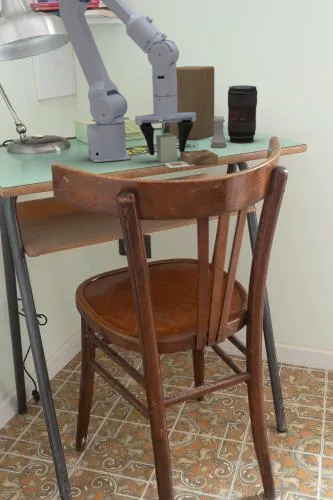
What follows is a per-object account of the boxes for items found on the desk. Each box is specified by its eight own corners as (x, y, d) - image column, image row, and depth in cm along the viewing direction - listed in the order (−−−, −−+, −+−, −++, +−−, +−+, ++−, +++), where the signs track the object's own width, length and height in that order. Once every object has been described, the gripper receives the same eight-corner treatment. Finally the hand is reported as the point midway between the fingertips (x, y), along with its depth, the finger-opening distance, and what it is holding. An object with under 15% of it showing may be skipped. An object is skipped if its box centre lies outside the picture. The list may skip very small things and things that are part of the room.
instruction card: (169, 168, 124) (169, 167, 123) (163, 164, 128) (163, 162, 128) (194, 165, 125) (194, 164, 125) (187, 161, 130) (187, 160, 129)
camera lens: (226, 143, 150) (227, 87, 145) (228, 138, 158) (228, 85, 152) (255, 143, 149) (257, 87, 144) (255, 138, 156) (257, 85, 151)
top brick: (161, 162, 130) (160, 135, 127) (156, 159, 133) (155, 133, 131) (177, 161, 131) (176, 134, 129) (172, 158, 134) (171, 132, 132)
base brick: (189, 165, 125) (189, 156, 124) (180, 160, 132) (180, 151, 131) (217, 163, 127) (217, 153, 126) (207, 157, 133) (207, 148, 133)
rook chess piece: (226, 148, 144) (226, 117, 141) (209, 148, 145) (209, 117, 142) (227, 145, 148) (227, 115, 145) (211, 145, 149) (211, 115, 146)
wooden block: (187, 133, 170) (186, 66, 163) (214, 135, 164) (215, 66, 157) (169, 137, 162) (167, 68, 155) (197, 140, 157) (196, 68, 150)
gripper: (139, 98, 121) (142, 158, 126) (199, 95, 125) (200, 153, 130) (132, 96, 127) (135, 153, 132) (190, 92, 131) (190, 148, 136)
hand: (166, 153), depth 131 cm, fingers open, 7 cm apart
